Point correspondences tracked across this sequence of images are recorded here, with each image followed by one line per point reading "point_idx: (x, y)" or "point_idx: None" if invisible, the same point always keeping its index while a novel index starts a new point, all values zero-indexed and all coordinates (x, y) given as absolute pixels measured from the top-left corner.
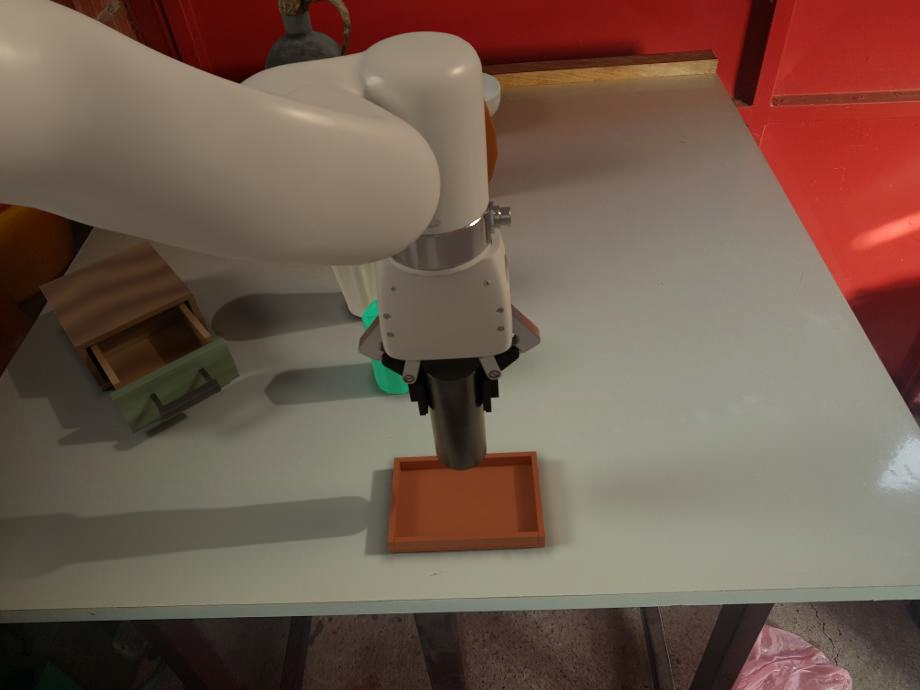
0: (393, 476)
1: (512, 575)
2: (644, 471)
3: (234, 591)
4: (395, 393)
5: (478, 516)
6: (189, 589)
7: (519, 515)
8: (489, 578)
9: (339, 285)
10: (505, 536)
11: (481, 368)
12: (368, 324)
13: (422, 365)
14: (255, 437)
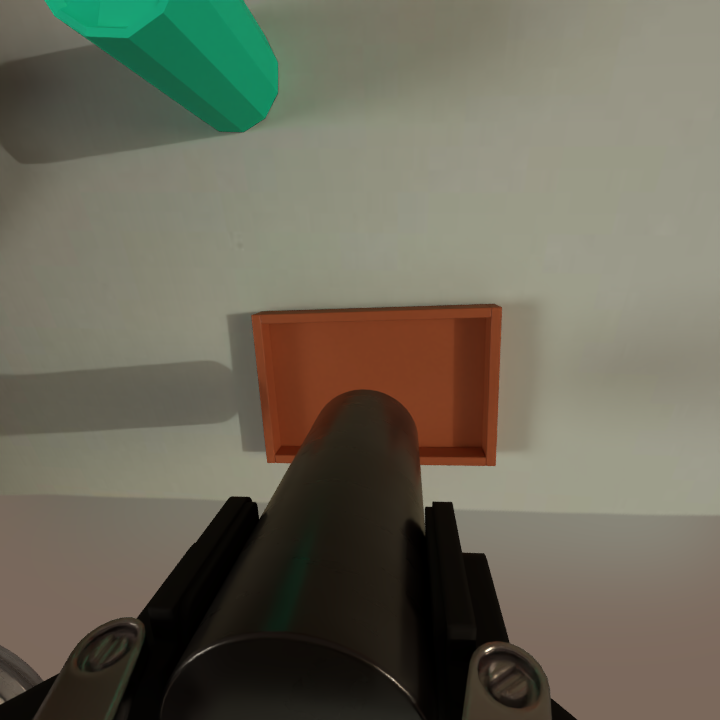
0: (256, 353)
1: (440, 488)
2: (684, 327)
3: (100, 487)
4: (229, 131)
5: None
6: (48, 482)
7: (457, 409)
8: None
9: None
10: (435, 463)
11: (438, 682)
12: (57, 3)
13: (182, 637)
14: (20, 242)
